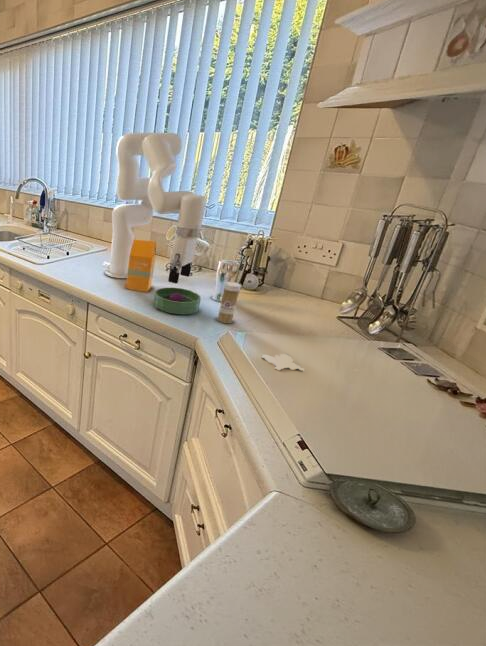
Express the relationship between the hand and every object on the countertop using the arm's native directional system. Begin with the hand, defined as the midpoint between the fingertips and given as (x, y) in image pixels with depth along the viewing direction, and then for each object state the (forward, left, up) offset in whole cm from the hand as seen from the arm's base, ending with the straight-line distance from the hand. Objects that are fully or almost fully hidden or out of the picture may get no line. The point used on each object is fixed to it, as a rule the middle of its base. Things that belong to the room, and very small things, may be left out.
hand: (178, 278), depth 141 cm
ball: (+1, 0, -10) cm, 10 cm away
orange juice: (-19, +10, -11) cm, 24 cm away
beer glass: (+10, +20, -11) cm, 25 cm away
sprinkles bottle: (+18, 0, -11) cm, 21 cm away
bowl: (+1, 0, -11) cm, 11 cm away
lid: (+61, -62, -11) cm, 88 cm away
